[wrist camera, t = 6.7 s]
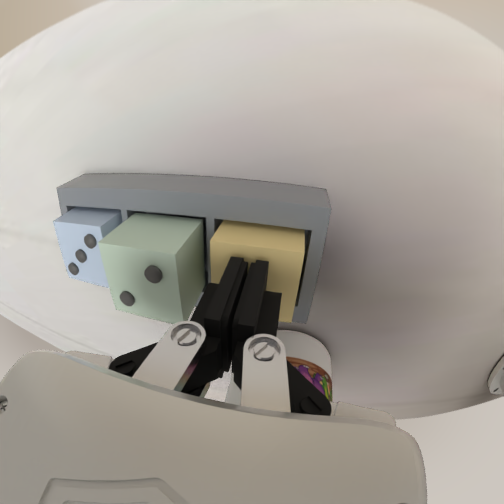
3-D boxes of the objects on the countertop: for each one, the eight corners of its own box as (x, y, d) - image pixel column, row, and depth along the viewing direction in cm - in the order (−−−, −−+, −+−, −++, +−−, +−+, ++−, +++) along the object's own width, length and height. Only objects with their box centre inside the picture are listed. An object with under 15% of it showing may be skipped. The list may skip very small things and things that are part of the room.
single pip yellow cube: (304, 219, 14) (304, 255, 11) (294, 282, 16) (290, 325, 13) (229, 210, 15) (208, 242, 12) (228, 272, 17) (211, 313, 14)
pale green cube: (203, 219, 14) (173, 257, 10) (205, 284, 16) (182, 329, 12) (135, 212, 14) (95, 244, 11) (144, 273, 16) (114, 311, 13)
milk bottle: (271, 390, 24) (231, 580, 7) (220, 344, 22) (142, 573, 5) (345, 368, 21) (333, 594, 4) (302, 312, 19) (257, 621, 2)
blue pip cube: (134, 202, 15) (98, 228, 12) (142, 258, 17) (113, 291, 14) (87, 199, 16) (51, 222, 13) (97, 251, 18) (67, 279, 15)
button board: (325, 189, 14) (331, 208, 12) (306, 292, 18) (306, 323, 15) (85, 174, 16) (56, 187, 14) (100, 258, 20) (79, 279, 17)
